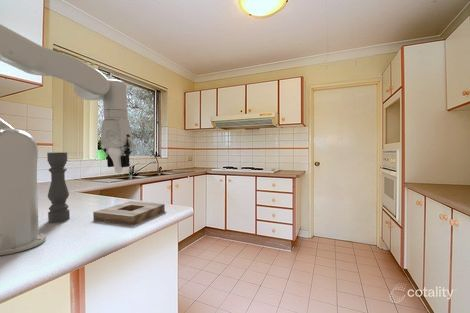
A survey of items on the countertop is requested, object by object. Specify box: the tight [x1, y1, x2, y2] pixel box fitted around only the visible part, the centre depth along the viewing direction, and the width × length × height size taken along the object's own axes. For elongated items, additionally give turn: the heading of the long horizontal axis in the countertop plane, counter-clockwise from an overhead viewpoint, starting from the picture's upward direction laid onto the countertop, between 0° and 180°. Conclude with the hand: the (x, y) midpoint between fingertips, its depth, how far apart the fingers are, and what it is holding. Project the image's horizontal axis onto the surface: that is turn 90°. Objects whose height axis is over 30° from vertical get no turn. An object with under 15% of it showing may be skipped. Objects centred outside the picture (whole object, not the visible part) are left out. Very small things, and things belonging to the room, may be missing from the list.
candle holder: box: [46, 152, 71, 224], centre depth 81 cm, size 6×6×25 cm
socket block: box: [92, 200, 165, 226], centre depth 87 cm, size 18×18×3 cm
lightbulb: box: [108, 146, 126, 174], centre depth 79 cm, size 6×6×11 cm
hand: (118, 166), depth 79 cm, fingers closed on lightbulb, 5 cm apart
